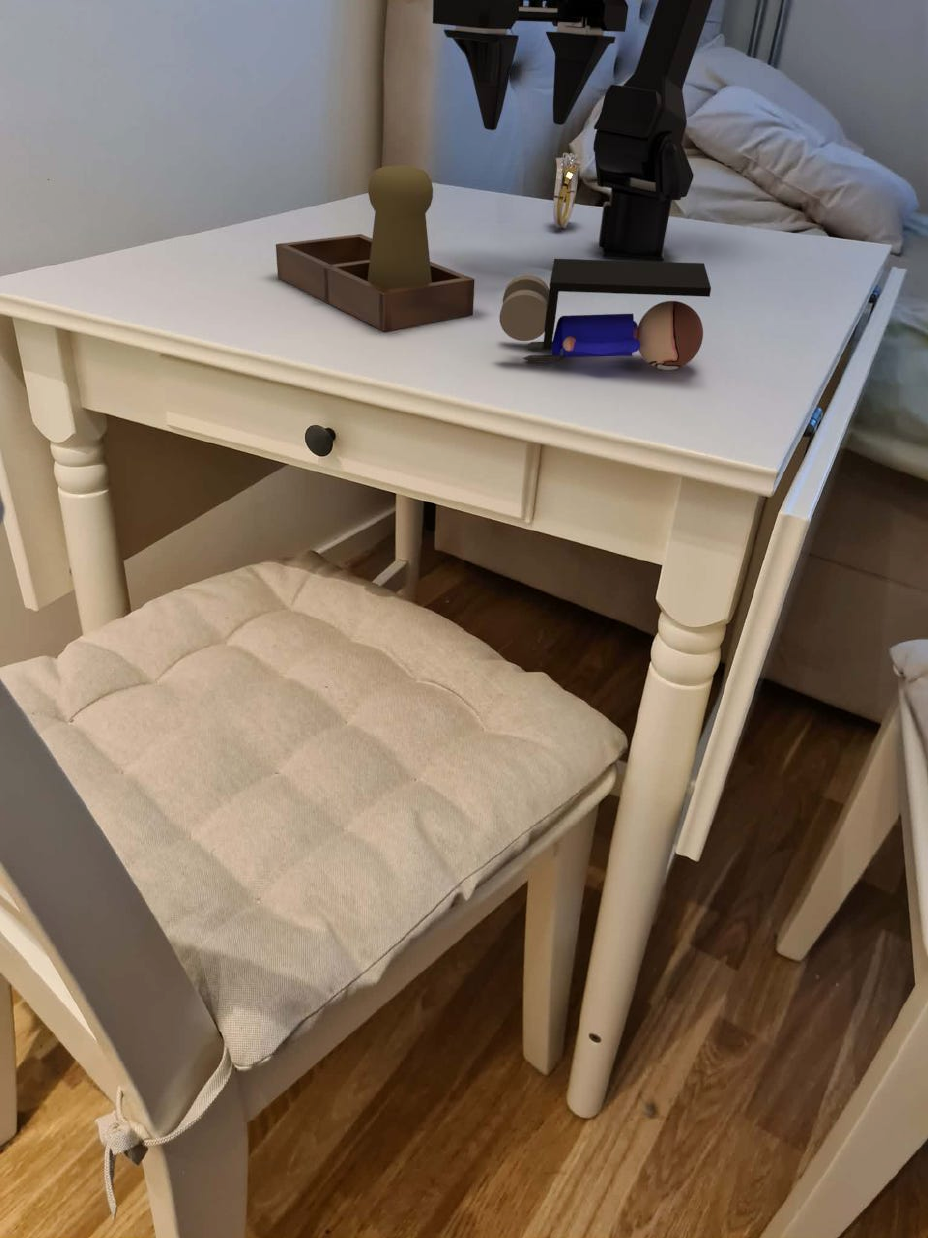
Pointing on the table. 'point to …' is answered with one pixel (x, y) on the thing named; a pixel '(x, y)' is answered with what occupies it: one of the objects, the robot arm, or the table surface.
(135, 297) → the table surface
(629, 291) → the figurine character
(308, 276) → the frame
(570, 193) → the ring
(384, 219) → the cork
